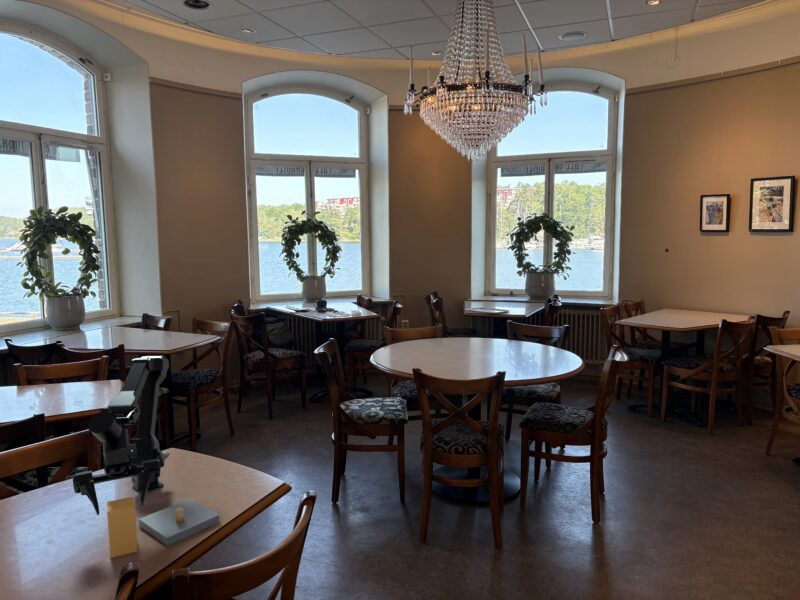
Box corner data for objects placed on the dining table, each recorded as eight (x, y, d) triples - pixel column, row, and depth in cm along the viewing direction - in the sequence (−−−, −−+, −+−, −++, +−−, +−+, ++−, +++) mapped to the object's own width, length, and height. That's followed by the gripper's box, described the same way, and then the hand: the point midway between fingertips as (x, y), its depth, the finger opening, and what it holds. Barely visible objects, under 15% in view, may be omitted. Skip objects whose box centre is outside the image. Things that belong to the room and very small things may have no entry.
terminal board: (139, 526, 138) (138, 507, 138) (190, 505, 149) (189, 487, 149) (167, 545, 130) (166, 526, 129) (219, 522, 140) (218, 503, 140)
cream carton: (110, 546, 130) (106, 501, 128) (136, 539, 132) (133, 496, 131) (110, 558, 125) (107, 512, 124) (137, 551, 128) (134, 506, 126)
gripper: (70, 441, 127) (71, 506, 119) (157, 427, 136) (164, 487, 128) (74, 461, 135) (75, 524, 127) (156, 447, 144) (163, 505, 135)
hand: (120, 509), depth 129 cm, fingers open, 9 cm apart
